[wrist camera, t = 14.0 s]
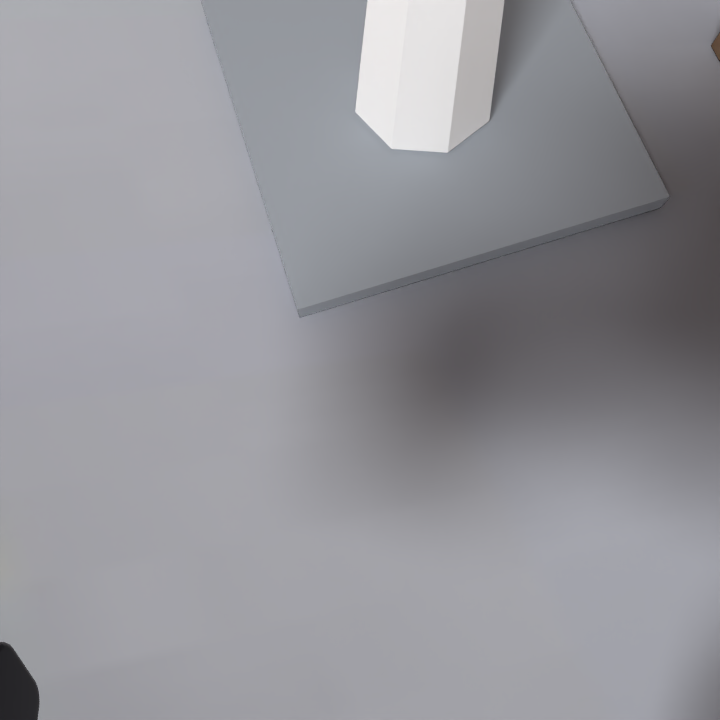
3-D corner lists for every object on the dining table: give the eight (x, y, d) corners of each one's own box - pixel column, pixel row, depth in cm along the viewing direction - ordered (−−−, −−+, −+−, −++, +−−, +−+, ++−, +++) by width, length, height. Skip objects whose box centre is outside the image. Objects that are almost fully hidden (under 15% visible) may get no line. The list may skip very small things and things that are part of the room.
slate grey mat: (660, 207, 24) (670, 196, 23) (299, 317, 23) (297, 309, 22) (521, -71, 28) (525, -88, 27) (204, 14, 27) (200, -2, 26)
